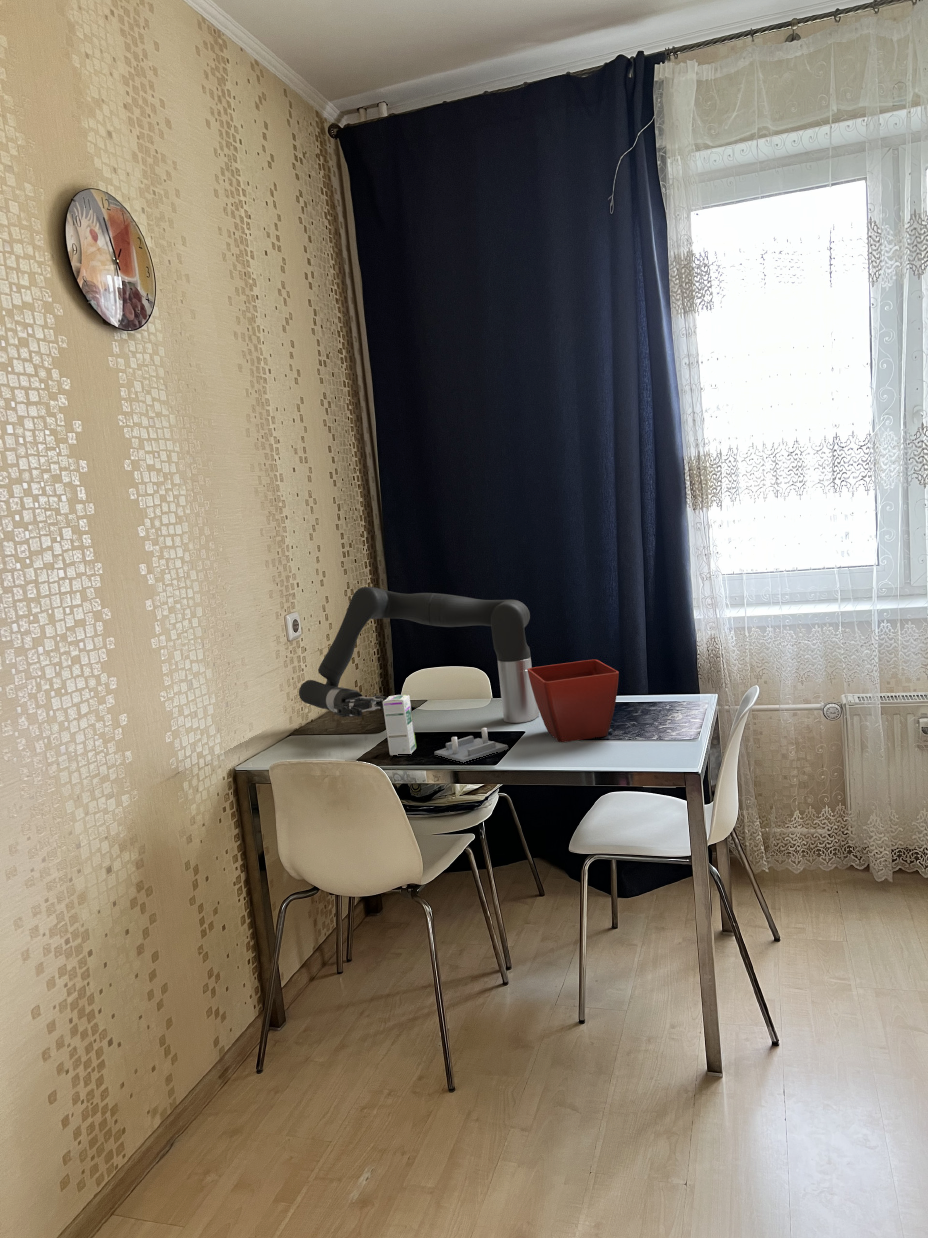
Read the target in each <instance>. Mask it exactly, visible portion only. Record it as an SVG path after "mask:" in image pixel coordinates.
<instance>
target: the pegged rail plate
mask: <svg viewBox="0 0 928 1238" xmlns="http://www.w3.org/2000/svg"><path fill="white" fill-rule="evenodd" d="M507 749H508V750H509V745H507V744H503V743H500V742H496V741H491V740H489V737H488V728H487V727H482V728H481V738H479V737H477V738H474V736H473V735H469V736H466V737H463V738H460V739H458V737H457V736H452V737H451V741H450V742H446V743H445V747H444V748H442V749H439V750H436V751H434V756H435V755H438V756H442V757H445V758H448V759H452V760H456V761H460V762H463V763H464V762H466V761H469V760H472V759H476V758H479V757H483V756H486V755H489V754H492V753H495V754H497V753H496V752H498V753H502V752H503V751H504V750H505V751H507ZM492 755H493V754H492ZM438 756H437V757H438ZM489 756H490V755H489ZM486 757H487V756H486ZM445 758H444V759H445ZM483 758H484V757H483ZM448 759H447V760H448ZM452 760H451V761H452Z"/></svg>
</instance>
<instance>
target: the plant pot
mask: <svg viewBox="0 0 928 1238" xmlns="http://www.w3.org/2000/svg"><path fill="white" fill-rule="evenodd" d="M527 670H528V675H529V679H530V683H531V687H532V690H533V694H534V697H535V700H536V703H537V706H538V709H539V715H540V717H541V719H542V722H543V724H544V726H545V729H546V730H547V732H548V733H549V734H550V735H551V736H552V737H553V738H554V739H555V740H556V741H557V742H558V743H567V742H568V743H569V742H575V741H580V740H581V741H582V740H590V739H595V737H596V738H602V737H607V736H608V734H609V730H610V728H611V725H612V721H613V717H614V712H615V706H616V703H617V694H618V689H619V688H618V687H619V686H618V685H619V676H620V673H619V671H618V670H616V669H615V668H613V667H611V666H609V665H607V664H605V663H603V662H602V661H600V660H599V659H588V660H587V659H585V660H579V661H573V662H565V663H557V664H550V665H542V666H535V667H532V668H529V669H527Z"/></svg>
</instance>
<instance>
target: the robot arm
mask: <svg viewBox="0 0 928 1238" xmlns="http://www.w3.org/2000/svg"><path fill="white" fill-rule="evenodd" d="M378 619H379V620H382V619H402V620H407V621H410V622H415V623H417V624H421V625H428V626H434V627H442V628H456V627H457V628H458V627H470V626H485V627H491V628H490V629H491V636H492V643H493V649H494V652H495V654H496V659H497V668H498V677H499V686H500V687H499V688H500V698H501V707H502V716H503V717H502V718H503V721H504V722H506V723H509V724H510V723H513V724H514V723H515V724H516V723H526V722H527V723H528V722H530V721H533V720H536V718H538V717H540V712H539V709H538V706H537V703H536V700H535V697H534V694H533V690H532V687H531V683H530V679H529V675H528V670H527V669H529V668H533V667H532V659H531V658H532V657H531V650H530V646H528V644H527V640H526V639H527V638H526V633H525V631H526V630H525V628H526V627H527V625H528V624H529V622H530V620H531V614H530V610H529V609H528V607H527V606H526V604H524V602H521V601H519V600H517V599H478V598H473V597H467V596H461V595H456V594H455V595H454V594H447V593H437V592H436V593H435V592H434V593H433V592H419V593H418V592H416V593H400V592H396V591H395V592H394V591H390V590H385V589H382V588H380V587H373V586H372V587H371V586H363V587H360V588H357V590H355V592H354V593H353V595H352V596H351V598H350V601H349V604H348V607H347V609H346V613H345V614H344V618H343V620H342V621H341V625H340V627H339V629H338V631H337V633H336V636H335V638H334V640H333V642H332V644H331V645H330V647H329V648H328V650H327V652H326V654H325V656H324V658H323V660H322V661H321V663H320V665H319V667H318V673H319V674H320V675H321V677H323V678H324V679H326V682H325V683H323V682H319V681H317V680H314V679H308V680H305V681H304V682H302V684H301V685H300V687H299V690H298V695H299V698H300V700H301V701H302V702H303V703H305V704H307V705H309V706H314V707H315V708H320V709H321V710H327V711H330V712H333V713H334V715H336V716H339V717H342V718H346V717H348V718H354V717H358V718H362V717H363V712H366V711H375V710H377V709H381V710H384V709H383V701H385V700H386V699H387V698H388V697H387V696H385V695H384V696H382V695H379V694H378V695H377V694H374V695H372V697H370V696H368V697H367V696H363V695H362V693H361V692H360V691H358V690H356V689H353V688H347V687H340V686H339V684H340V680H341V679H342V678H341V677H342V676H343V674H345V671H346V668H348V666H349V663H350V662H351V660H352V657H353V655H354V652H355V647H356V646H357V645H356V644H357V641H358V638H359V636H360V633H361V632H362V630H363V629H364V627H365V626H366V624H368V622H369V621H370V620H378Z"/></svg>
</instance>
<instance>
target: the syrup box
mask: <svg viewBox="0 0 928 1238" xmlns="http://www.w3.org/2000/svg"><path fill="white" fill-rule="evenodd" d="M410 698H411V697H410V695H409V694H396V695H390V696H388V697H387V699H386V700H385V701H383V709H382V710H383V715H384V721H385V722H384V723H385V728H386V729H385V730H386V731H385V732H386V736H387V737H386V738H387V745H388V751H389V755H390V756H393V755H397V756H399V755H398V754H411V755H412V753H413V752H414V751H415V750H416V749H417V741H416V735H415V734H416V733H415V726H414V719H413V714H412V713H413V712H412V705H411V699H410Z"/></svg>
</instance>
